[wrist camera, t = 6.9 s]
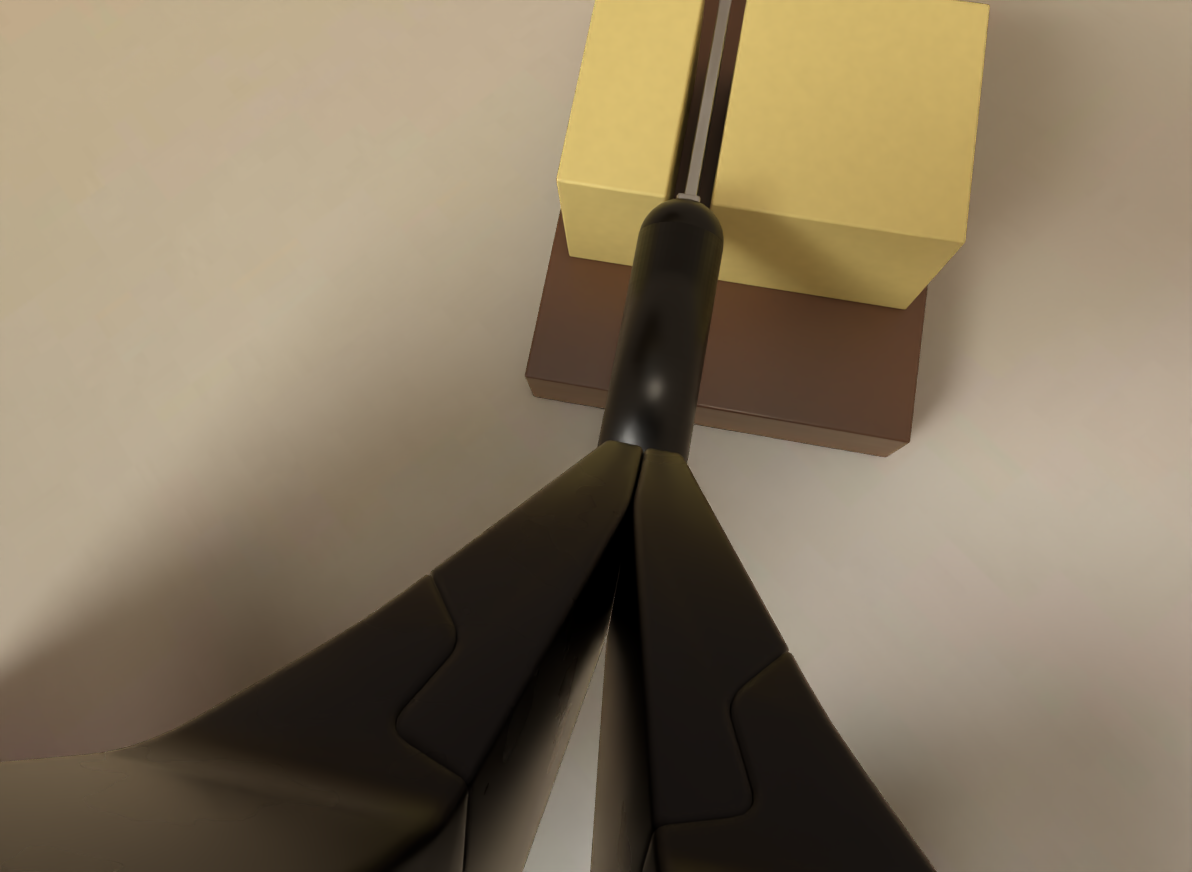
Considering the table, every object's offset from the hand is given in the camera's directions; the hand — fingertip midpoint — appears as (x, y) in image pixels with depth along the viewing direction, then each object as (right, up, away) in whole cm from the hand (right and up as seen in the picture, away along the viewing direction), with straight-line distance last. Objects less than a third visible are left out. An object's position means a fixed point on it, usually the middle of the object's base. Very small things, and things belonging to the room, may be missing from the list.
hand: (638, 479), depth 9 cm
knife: (+2, +4, +12) cm, 13 cm away
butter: (+4, +7, +13) cm, 16 cm away
